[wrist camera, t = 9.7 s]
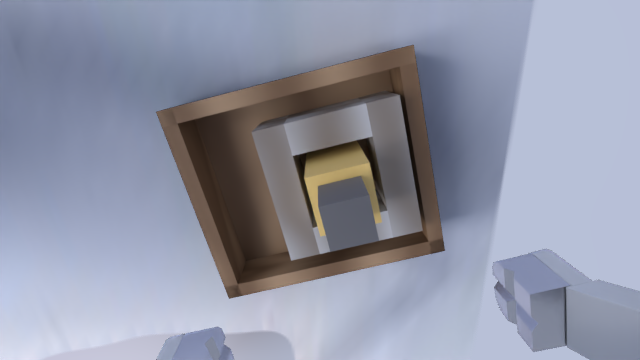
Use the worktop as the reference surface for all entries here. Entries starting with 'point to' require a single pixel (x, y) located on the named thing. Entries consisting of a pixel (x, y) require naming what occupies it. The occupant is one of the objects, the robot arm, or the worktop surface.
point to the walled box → (289, 169)
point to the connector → (343, 195)
